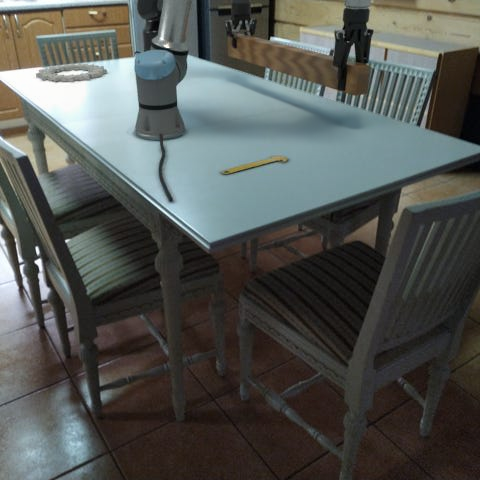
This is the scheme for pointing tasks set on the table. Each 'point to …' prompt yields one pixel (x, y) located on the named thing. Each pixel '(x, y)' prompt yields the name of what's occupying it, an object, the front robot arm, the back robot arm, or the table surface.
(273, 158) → the bottle opener
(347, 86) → the post
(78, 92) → the table surface
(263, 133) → the table surface
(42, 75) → the decorative wreath
